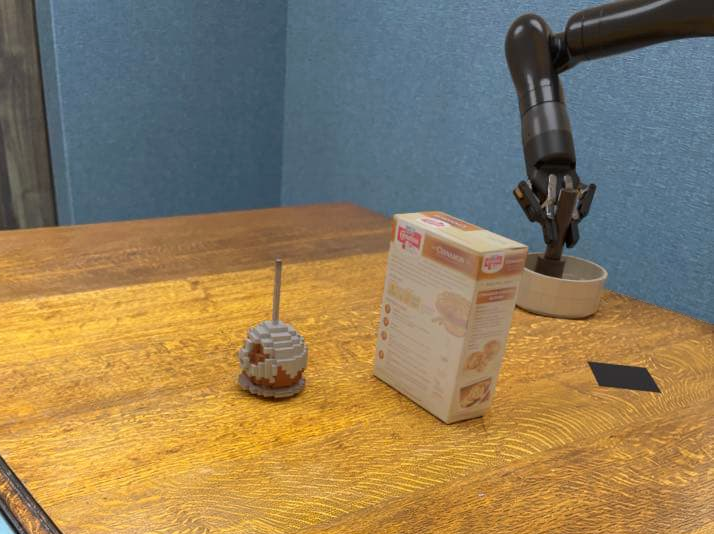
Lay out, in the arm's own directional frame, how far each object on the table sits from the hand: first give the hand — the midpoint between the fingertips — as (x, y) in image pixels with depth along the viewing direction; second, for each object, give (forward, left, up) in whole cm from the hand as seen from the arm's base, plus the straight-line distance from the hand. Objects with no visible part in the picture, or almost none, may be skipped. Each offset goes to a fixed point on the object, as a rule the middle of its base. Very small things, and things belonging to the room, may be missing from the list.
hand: (562, 245), depth 125 cm
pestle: (+1, -2, -6) cm, 7 cm away
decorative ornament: (+40, +42, -9) cm, 59 cm away
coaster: (-5, +28, -9) cm, 30 cm away
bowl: (0, 0, -9) cm, 9 cm away
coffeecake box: (+21, +39, -9) cm, 45 cm away
